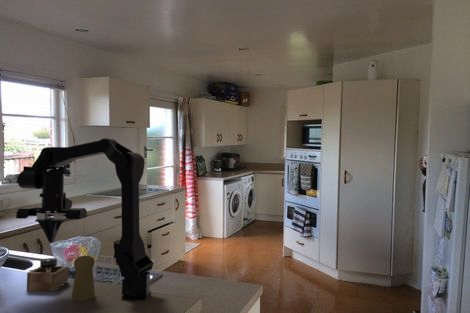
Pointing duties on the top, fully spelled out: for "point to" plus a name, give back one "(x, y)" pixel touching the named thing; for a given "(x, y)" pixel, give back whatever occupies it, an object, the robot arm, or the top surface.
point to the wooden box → (46, 278)
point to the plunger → (48, 263)
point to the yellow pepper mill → (83, 279)
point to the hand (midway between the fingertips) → (51, 242)
